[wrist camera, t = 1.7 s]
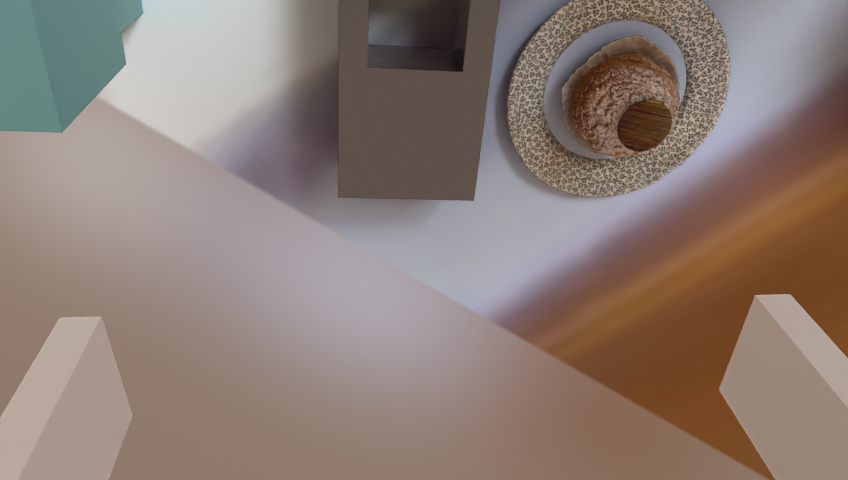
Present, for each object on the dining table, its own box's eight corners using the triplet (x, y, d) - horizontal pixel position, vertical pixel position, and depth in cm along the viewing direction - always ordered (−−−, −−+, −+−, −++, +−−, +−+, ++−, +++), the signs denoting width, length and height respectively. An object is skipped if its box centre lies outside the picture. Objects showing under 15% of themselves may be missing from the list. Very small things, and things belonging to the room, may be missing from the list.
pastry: (547, 218, 40) (567, 262, 36) (467, 44, 33) (481, 75, 30) (739, 132, 38) (783, 168, 34) (692, -72, 31) (739, -55, 27)
